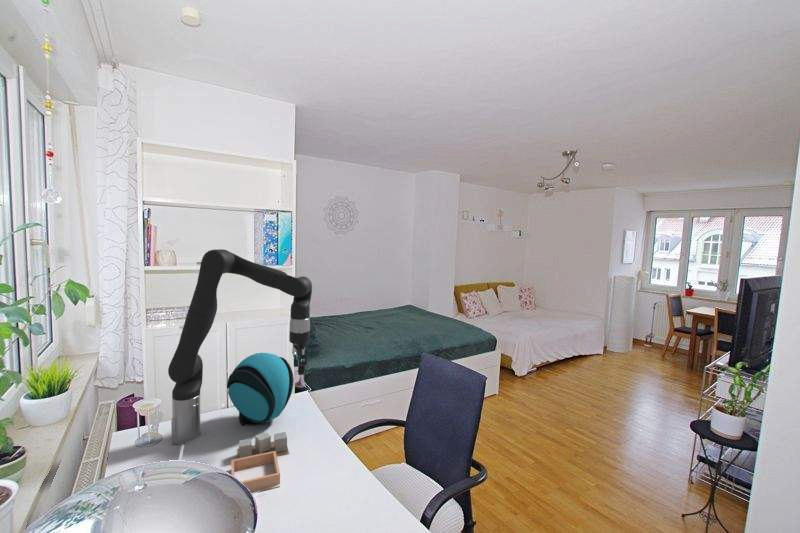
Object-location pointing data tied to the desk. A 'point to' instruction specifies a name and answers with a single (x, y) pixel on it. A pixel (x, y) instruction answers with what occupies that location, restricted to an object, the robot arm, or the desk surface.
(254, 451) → the lid board
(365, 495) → the desk surface
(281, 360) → the helmet
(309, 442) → the desk surface
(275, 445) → the stone
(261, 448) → the pale grey cube
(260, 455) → the bin
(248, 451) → the stone
